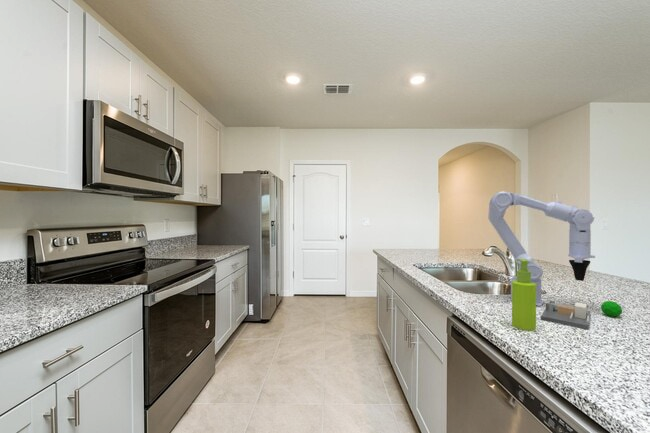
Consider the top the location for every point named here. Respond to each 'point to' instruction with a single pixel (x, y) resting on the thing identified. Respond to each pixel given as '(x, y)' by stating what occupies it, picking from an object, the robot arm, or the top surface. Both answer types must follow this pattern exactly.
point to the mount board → (564, 316)
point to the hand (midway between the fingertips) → (579, 280)
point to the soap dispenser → (524, 299)
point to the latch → (580, 310)
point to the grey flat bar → (564, 306)
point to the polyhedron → (611, 309)
